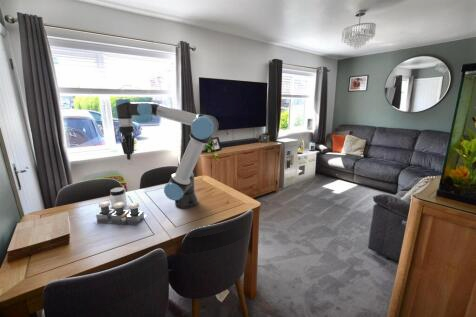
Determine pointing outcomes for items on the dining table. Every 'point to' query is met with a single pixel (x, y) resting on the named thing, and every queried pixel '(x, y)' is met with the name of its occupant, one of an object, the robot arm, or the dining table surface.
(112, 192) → the jar
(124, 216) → the trim pot
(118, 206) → the knob mid
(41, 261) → the dining table surface
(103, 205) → the knob
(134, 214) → the knob
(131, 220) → the console
